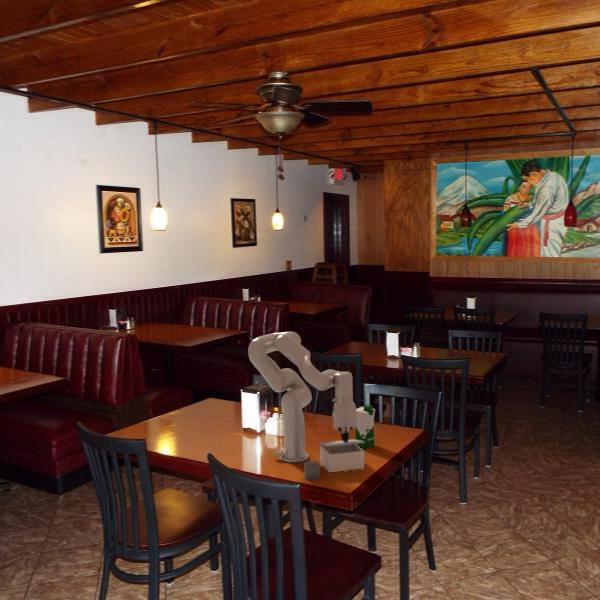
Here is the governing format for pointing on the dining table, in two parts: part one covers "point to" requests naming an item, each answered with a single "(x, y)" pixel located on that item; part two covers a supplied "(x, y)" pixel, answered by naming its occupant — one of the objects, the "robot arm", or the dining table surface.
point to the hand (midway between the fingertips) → (345, 441)
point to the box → (342, 457)
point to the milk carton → (365, 426)
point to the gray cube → (311, 470)
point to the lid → (341, 443)
